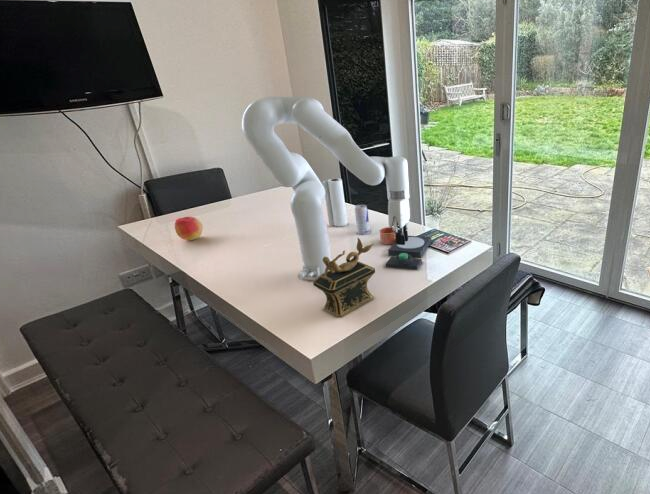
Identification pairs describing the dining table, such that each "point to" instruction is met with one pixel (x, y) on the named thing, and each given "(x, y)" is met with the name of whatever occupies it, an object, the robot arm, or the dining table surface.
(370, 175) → the robot arm
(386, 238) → the bowl
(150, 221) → the dining table surface
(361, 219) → the energy drink
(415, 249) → the scale
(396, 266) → the scale panel
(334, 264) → the decorative box
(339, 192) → the paper towel roll
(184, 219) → the apple
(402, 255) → the tare button
